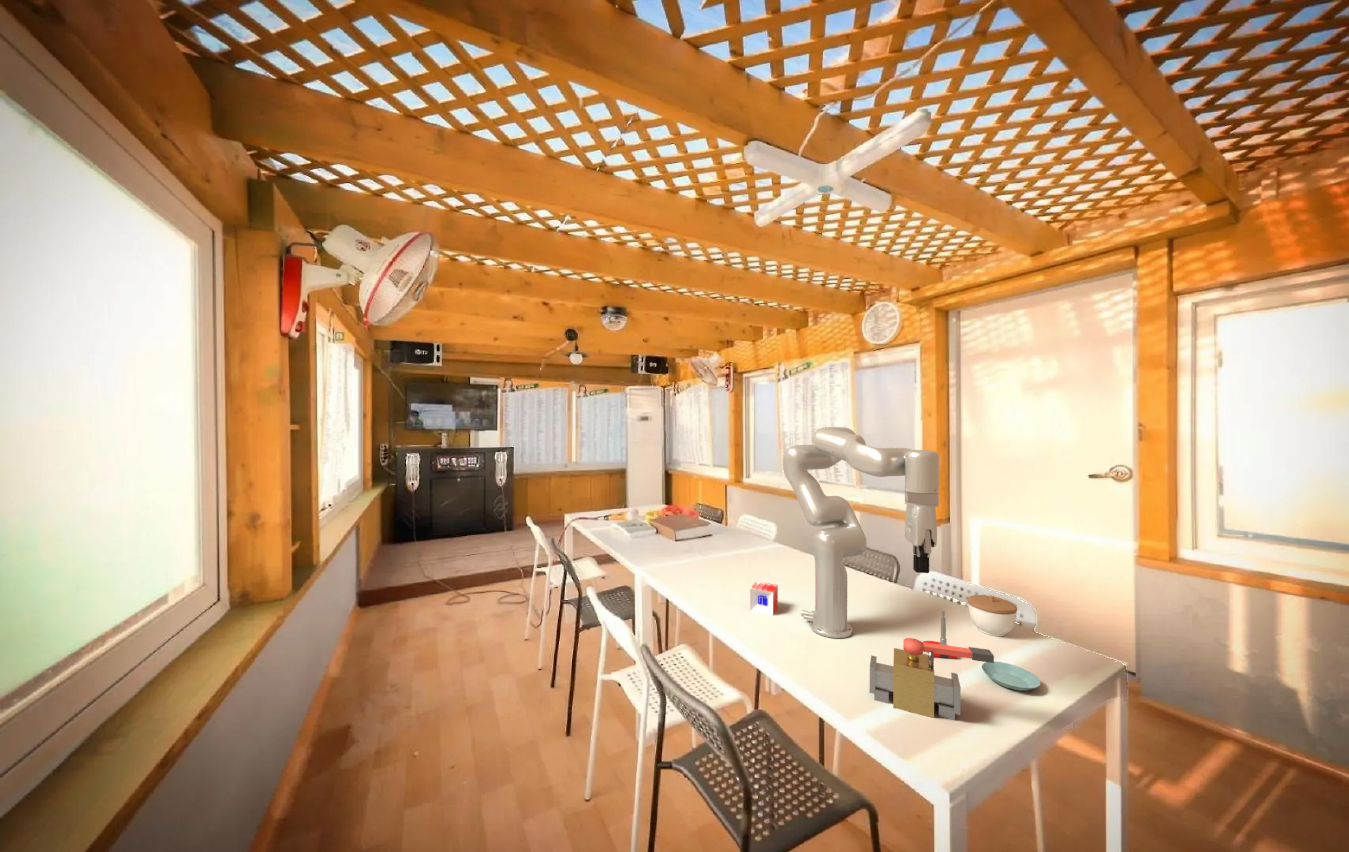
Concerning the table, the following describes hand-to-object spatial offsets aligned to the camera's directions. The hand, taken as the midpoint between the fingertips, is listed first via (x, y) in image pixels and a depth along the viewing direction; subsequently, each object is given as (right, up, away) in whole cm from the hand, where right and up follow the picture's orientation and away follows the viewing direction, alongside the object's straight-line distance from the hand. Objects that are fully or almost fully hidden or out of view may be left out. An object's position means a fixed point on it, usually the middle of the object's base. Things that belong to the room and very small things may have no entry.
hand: (921, 571), depth 114 cm
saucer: (+22, -28, -1) cm, 35 cm away
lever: (-1, -15, -12) cm, 19 cm away
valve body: (-7, -27, -10) cm, 30 cm away
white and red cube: (-31, -27, +43) cm, 60 cm away
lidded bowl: (+37, -28, +27) cm, 54 cm away
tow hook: (+13, -28, +15) cm, 34 cm away
